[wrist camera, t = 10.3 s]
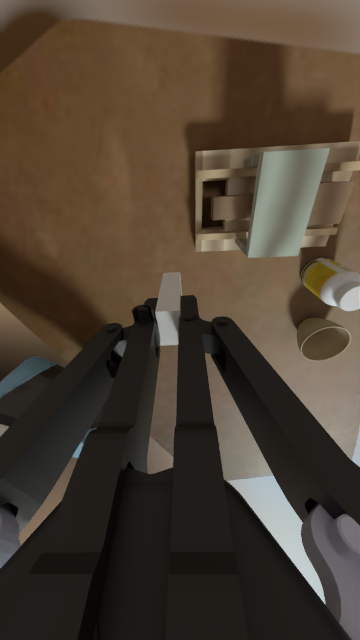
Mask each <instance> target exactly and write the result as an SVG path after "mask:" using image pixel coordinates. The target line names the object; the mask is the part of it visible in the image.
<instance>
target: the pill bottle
mask: <svg viewBox="0 0 360 640" xmlns="http://www.w3.org/2000/svg"><path fill="white" fill-rule="evenodd" d="M301 282H302V283H303V285H304V286H305V287H307V288H308V289H309V290H310V291H311V292H313V293H314V294H315V295H316V296H317V297H319V298H320V299H321V300H322V301H323V302H325V303H326V304H328V305H332V306H339V307H340V308H341V309H343V310H345V311H354V310H357V309H359V308H360V274H359V273H357V272H355V271H353V270H351V269H349V268H347V267H345V266H343V265H341V264H339V263H337V262H335V261H333V260H331V259H329V258H317V259H315V260H313V261H311V262H310V263H308V264H307V265H306V266H305V267H304V269H303V270H302V273H301Z"/></svg>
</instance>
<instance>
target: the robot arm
mask: <svg viewBox="0 0 360 640" xmlns="http://www.w3.org/2000/svg"><path fill="white" fill-rule="evenodd" d="M132 313H133V317H134V321H135V322H134V325H132V326H129V327H125V328H122V325H120V324H118V323H112V324H108V325H106V326H105V327H103V328H102V329H101V330H100V331H99V332H98V333H97V334H96V335H95V336H94V338H93V339H92V340H91V341H90V342H89V343H88V344H87V345H86V346H85V347H84V348H83V349H82V350H81V351H80V352H79V353H78V355H77V356H76V357H75V358H74V359H73V360H72V361H71V362H70V363H69V364H68V365H67V366H66V367H65V368H63V367H61V366H59V365H58V364H57V363H53V362H51V361H49V360H47V359H45V358H42V357H39V356H36V357H31V358H29V359H27V360H26V361H24V362H23V363H22V364H21V365H19V366H18V367H17V368H16V369H15V370H13V371H12V372H11V373H10V374H9V375H8V376H6V378H4V379H3V380H2V381H1V382H0V640H360V467H359V466H357V465H356V464H355V463H354V462H353V461H351V460H350V459H349V458H348V457H347V455H346V454H345V453H344V452H343V451H342V450H341V448H340V447H339V446H338V445H337V444H336V442H335V441H334V440H333V439H332V438H331V436H330V435H329V434H328V433H327V432H326V431H325V429H324V428H323V427H322V426H321V425H320V423H319V422H318V421H317V420H316V419H315V417H314V416H313V415H312V414H311V413H310V412H309V410H308V409H307V408H306V407H305V406H304V404H303V403H302V402H301V401H300V400H299V398H298V397H297V396H296V395H295V394H294V393H293V391H292V390H291V389H290V388H289V387H288V385H287V384H286V383H285V382H284V381H283V379H282V378H281V377H280V376H279V375H278V374H277V372H276V371H275V370H274V369H273V368H272V366H271V365H270V364H269V363H268V362H267V360H266V359H265V358H264V357H263V356H262V355H261V353H260V352H259V351H258V350H257V349H256V347H255V346H254V345H253V344H252V343H251V341H250V340H249V339H248V338H247V337H246V336H245V334H244V333H243V332H242V331H241V330H240V328H239V327H238V326H237V325H236V324H235V322H234V321H233V320H232V319H230V318H228V317H216V318H214V319H213V320H212V322H208V321H204V320H202V319H201V318H200V317H199V314H198V307H197V299H196V297H195V296H194V295H189V296H182V289H181V276H180V272H172V273H163V277H162V282H161V287H160V292H159V296H158V298H149V299H147V300H146V301H145V303H144V305H139V306H136V307H135V308H133V310H132ZM160 343H161V345H178V376H177V416H176V427H175V433H174V462H173V468H170V469H167V470H164V471H161V472H158V473H155V474H147V452H148V444H149V437H150V429H151V421H152V413H153V405H154V397H155V389H156V381H157V373H158V365H159V357H160V346H159V344H160ZM205 353H209V354H211V357H212V359H213V361H214V363H215V365H216V366H217V368H218V370H219V372H220V374H221V376H222V378H223V380H224V382H225V384H226V385H227V387H228V389H229V391H230V393H231V395H232V397H233V399H234V401H235V403H236V405H237V406H238V408H239V410H240V412H241V414H242V416H243V418H244V420H245V422H246V424H247V425H248V427H249V429H250V431H251V433H252V435H253V437H254V439H255V441H256V443H257V445H258V446H259V448H260V450H261V452H262V454H263V456H264V458H265V460H266V462H267V464H268V465H269V467H270V469H271V471H272V473H273V475H274V477H275V479H276V481H277V483H278V484H279V486H280V488H281V490H282V491H283V493H284V495H285V496H286V498H287V500H288V502H289V503H290V504H291V506H292V507H293V509H294V510H295V512H296V513H297V515H298V516H299V518H300V519H301V520H302V522H303V524H302V529H301V537H302V543H303V546H304V549H305V552H306V554H307V556H308V558H309V560H310V561H311V563H312V565H313V567H314V569H315V570H316V572H317V574H318V576H319V579H320V581H321V584H322V587H323V591H324V596H325V601H326V605H325V604H324V603H323V601H322V600H321V599H320V597H319V596H318V595H317V593H316V592H315V591H314V590H313V588H312V587H311V586H310V585H309V583H308V582H307V580H306V579H305V578H304V577H303V575H302V574H301V573H300V571H299V570H298V569H297V567H296V566H295V565H294V563H293V562H292V561H291V559H290V558H289V557H288V556H287V554H286V553H285V552H284V550H283V549H282V548H281V546H280V545H279V544H278V543H277V541H276V540H275V539H274V537H273V536H272V535H271V533H270V532H269V531H268V529H267V528H266V527H265V525H264V524H263V523H262V522H261V520H260V519H259V518H258V516H257V515H256V514H255V512H254V511H253V510H252V508H251V507H250V506H249V505H248V503H247V502H246V501H245V499H244V498H243V497H242V496H241V494H240V493H239V492H238V491H237V490H236V489H235V488H234V487H233V486H232V485H230V484H229V483H228V482H227V481H225V480H224V478H223V471H222V464H221V457H220V450H219V443H218V436H217V430H216V426H215V425H214V419H213V412H212V404H211V397H210V390H209V382H208V375H207V367H206V360H205ZM71 457H75V458H78V460H77V462H76V465H75V468H74V470H73V473H72V476H71V478H70V481H69V483H68V486H67V489H66V491H65V494H64V497H63V500H62V501H61V502H60V503H59V504H58V506H57V507H56V508H55V509H54V510H53V511H52V512H51V513H50V514H49V515H48V517H47V518H46V519H45V520H44V521H43V522H42V523H41V524H40V525H39V527H38V528H37V529H36V530H35V531H34V532H33V533H32V534H31V535H30V537H29V538H28V539H27V540H26V541H25V542H24V543H23V544H22V545H21V546H20V542H19V540H18V538H19V533H20V532H21V531H22V529H23V528H24V527H25V526H26V525H27V524H28V522H29V521H30V520H31V518H32V517H33V516H34V515H35V513H36V512H37V510H38V509H39V508H40V506H41V505H42V504H43V502H44V501H45V499H46V498H47V496H48V495H49V493H50V492H51V490H52V489H53V487H54V485H55V484H56V482H57V480H58V479H59V477H60V475H61V474H62V472H63V471H64V469H65V467H66V466H67V464H68V462H69V461H70V459H71Z"/></svg>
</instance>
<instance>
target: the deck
mask: <svg viewBox="0 0 360 640" xmlns="http://www.w3.org/2000/svg"><path fill="white" fill-rule="evenodd" d="M359 153H360V141H353V142H338V143H322V144H306V145H290V146H274V147H259V148H243V149H227V150H211V151H196V153H195V249H196V252H199V251H224V250H242V251H243V253H244V254H245V255H246V256H247V257H248V258H254V257H280V256H298V255H299V251H300V248H301V247H322V246H326V243H327V241H328V238H329V235H336V233H337V231H338V228H336V227H333V224H322V225H307V224H308V221H309V218H310V214H311V211H312V208H313V204H314V201H315V197H316V194H317V191H318V187H319V184H320V182H335V181H349V180H350V178H351V175H352V172H353V171H354V170H360V161H357V158H358V156H359ZM215 180H226V182H225V195H243V194H254V196H253V203H252V210H251V217H250V218H248V219H229V220H223V224H222V227H202V181H215Z"/></svg>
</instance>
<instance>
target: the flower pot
mask: <svg viewBox="0 0 360 640" xmlns="http://www.w3.org/2000/svg"><path fill="white" fill-rule="evenodd" d="M297 342H298V346H299V349H300V352H301V354H302V355H303V357H304V358H306V359H308V360H311V361H324V360H328V359H331V358H334V357H336V356H338V355H339V354H341V353H342V352H343V351H344V350H345V349H346V348H347V347H348V346H349V344H350V342H351V334H350V332H349V331H348V330H347V329H345V328H344V327H342V326H340V325H339V324H337V323H334V322H332V321H329V320H326V319H321V318H308V319H305V320H304V321H302V322H301V323H300V325H299V327H298V330H297Z"/></svg>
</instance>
